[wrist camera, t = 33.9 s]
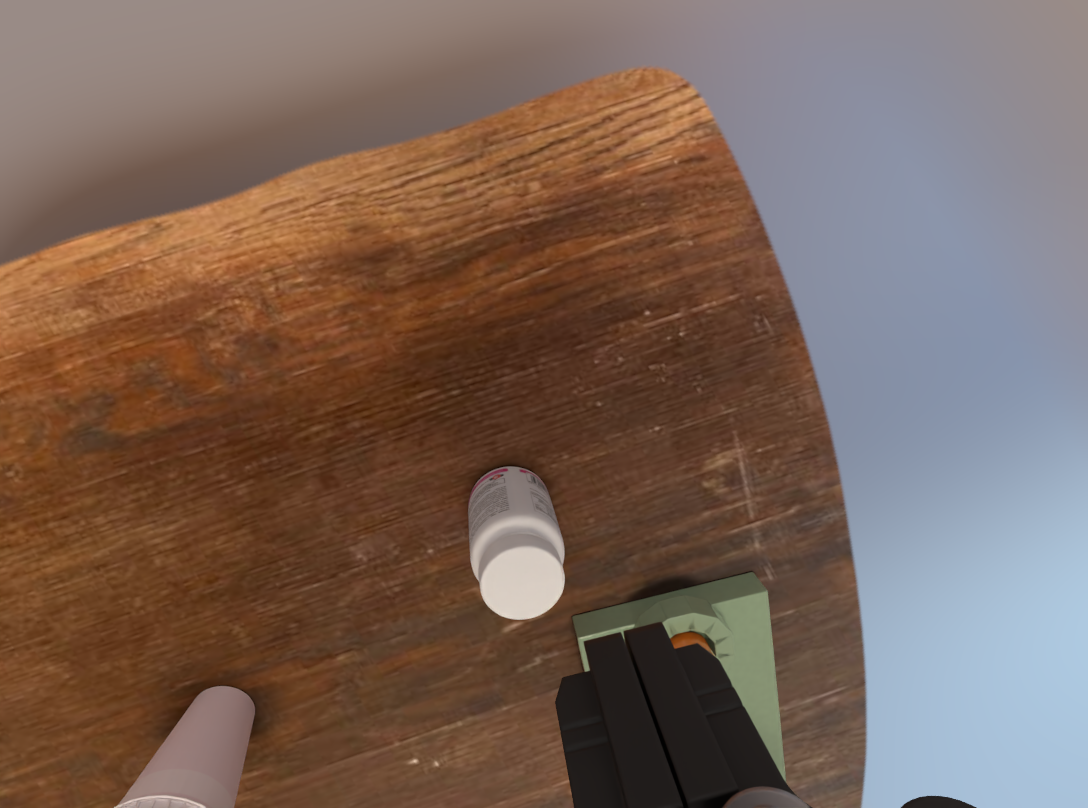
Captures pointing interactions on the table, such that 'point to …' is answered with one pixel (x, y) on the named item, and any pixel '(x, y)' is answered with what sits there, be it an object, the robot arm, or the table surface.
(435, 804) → the table surface
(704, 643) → the orange push button
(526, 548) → the pill bottle
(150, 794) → the smoothie
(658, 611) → the base
